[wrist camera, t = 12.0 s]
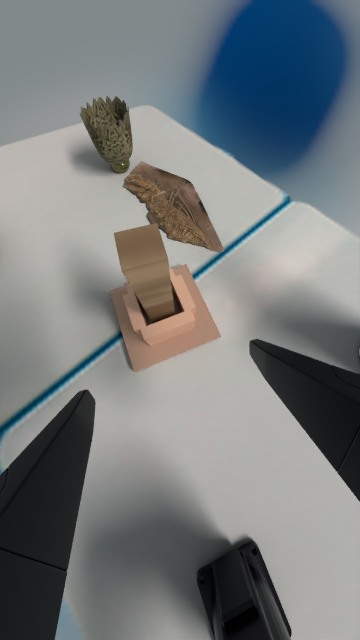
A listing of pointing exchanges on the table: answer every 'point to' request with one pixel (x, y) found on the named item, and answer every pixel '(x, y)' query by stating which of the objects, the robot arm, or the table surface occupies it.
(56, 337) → the table surface
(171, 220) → the wooden fragment
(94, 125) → the cup
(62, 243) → the table surface
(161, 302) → the brown wooden block
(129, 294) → the terracotta holder
